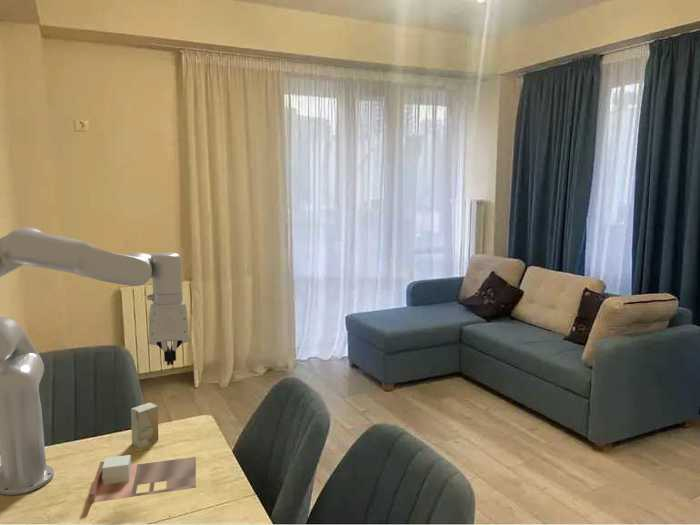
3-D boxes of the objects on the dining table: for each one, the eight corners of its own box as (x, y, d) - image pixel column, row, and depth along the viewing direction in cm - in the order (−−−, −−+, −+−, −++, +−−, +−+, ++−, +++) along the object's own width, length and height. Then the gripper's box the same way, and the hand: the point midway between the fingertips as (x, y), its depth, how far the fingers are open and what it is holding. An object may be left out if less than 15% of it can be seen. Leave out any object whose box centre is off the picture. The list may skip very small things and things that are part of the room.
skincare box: (139, 453, 147) (137, 412, 145) (131, 448, 150) (129, 408, 148) (160, 444, 152) (158, 405, 150) (151, 440, 155) (150, 401, 153)
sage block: (103, 484, 129) (102, 468, 128) (106, 474, 134) (105, 457, 133) (129, 481, 131) (128, 464, 130) (131, 470, 135) (130, 454, 135)
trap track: (90, 508, 122) (89, 494, 122) (101, 474, 136) (100, 462, 136) (196, 492, 129) (195, 479, 128) (195, 461, 143) (195, 450, 143)
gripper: (136, 303, 134) (140, 370, 137) (196, 300, 138) (198, 365, 141) (139, 296, 141) (142, 361, 144) (196, 294, 145) (198, 357, 148)
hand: (170, 363), depth 143 cm, fingers closed
